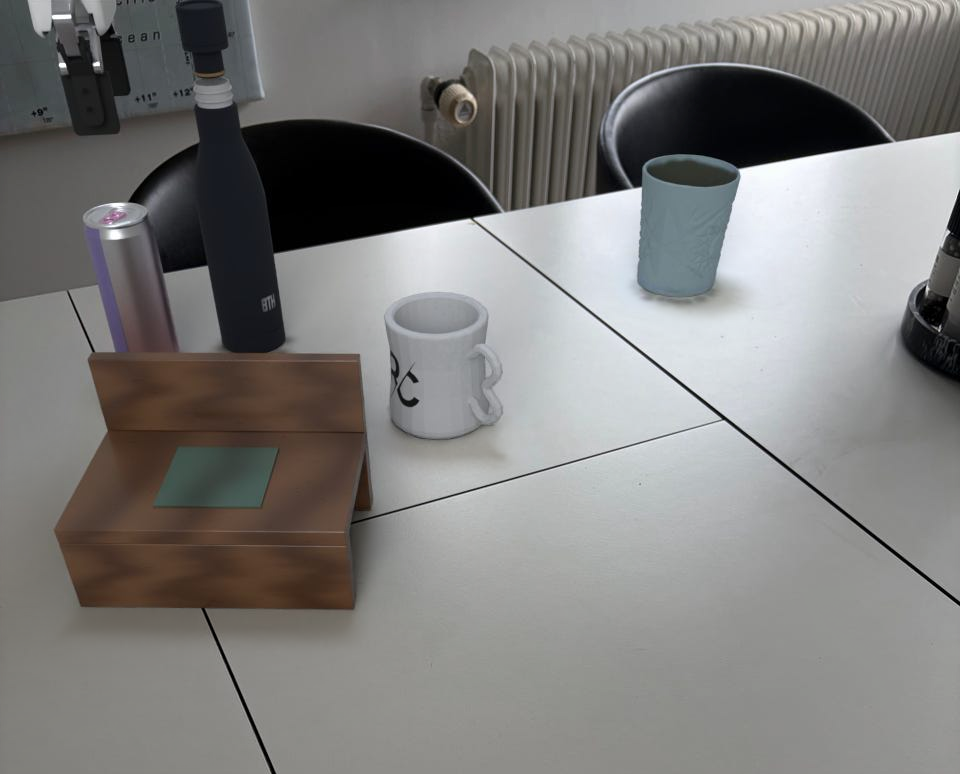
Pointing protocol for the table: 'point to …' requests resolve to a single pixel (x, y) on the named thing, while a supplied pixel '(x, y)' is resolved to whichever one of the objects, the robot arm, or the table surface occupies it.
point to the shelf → (221, 482)
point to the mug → (441, 365)
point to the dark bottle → (230, 195)
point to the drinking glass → (684, 222)
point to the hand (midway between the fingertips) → (105, 113)
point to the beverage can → (130, 278)
